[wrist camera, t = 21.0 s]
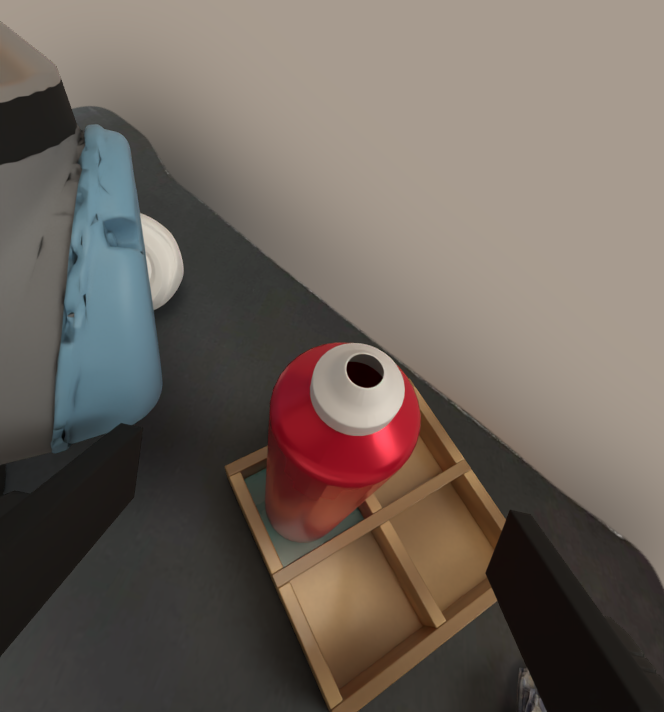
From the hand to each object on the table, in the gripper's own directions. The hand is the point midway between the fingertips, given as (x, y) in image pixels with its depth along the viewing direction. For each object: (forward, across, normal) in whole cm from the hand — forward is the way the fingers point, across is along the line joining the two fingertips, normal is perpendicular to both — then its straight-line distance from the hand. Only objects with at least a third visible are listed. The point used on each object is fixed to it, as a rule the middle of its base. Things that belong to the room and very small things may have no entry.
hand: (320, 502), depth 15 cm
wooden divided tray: (+13, +5, -10) cm, 17 cm away
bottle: (+13, 0, -9) cm, 16 cm away
